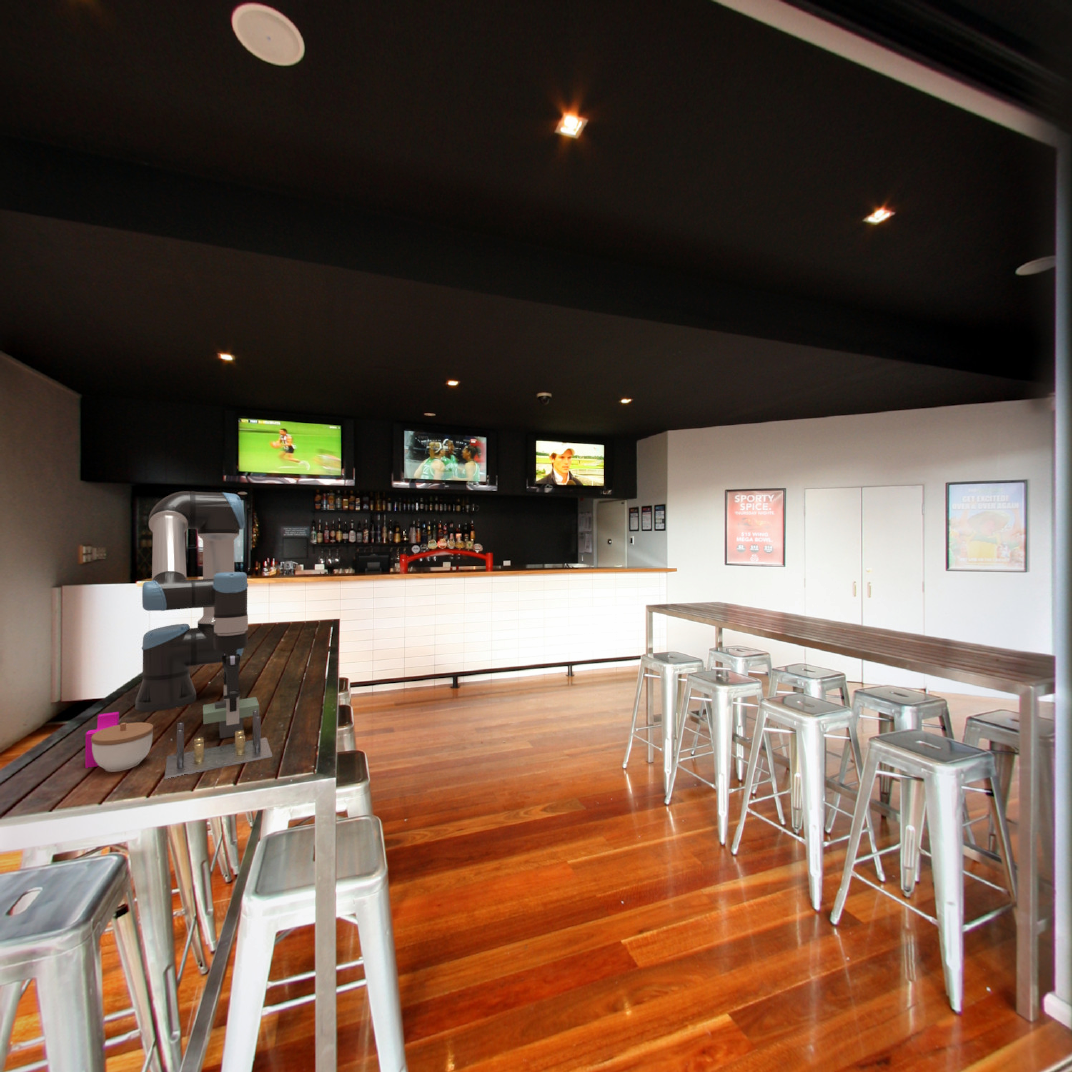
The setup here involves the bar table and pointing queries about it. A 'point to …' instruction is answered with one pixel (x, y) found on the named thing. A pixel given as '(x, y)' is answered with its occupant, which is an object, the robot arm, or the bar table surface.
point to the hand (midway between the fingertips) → (231, 716)
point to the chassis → (217, 752)
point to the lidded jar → (122, 745)
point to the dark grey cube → (229, 728)
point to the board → (218, 710)
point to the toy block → (103, 722)
